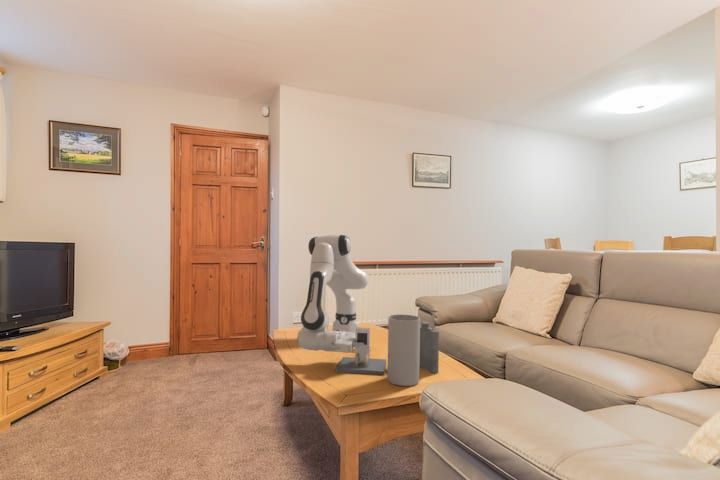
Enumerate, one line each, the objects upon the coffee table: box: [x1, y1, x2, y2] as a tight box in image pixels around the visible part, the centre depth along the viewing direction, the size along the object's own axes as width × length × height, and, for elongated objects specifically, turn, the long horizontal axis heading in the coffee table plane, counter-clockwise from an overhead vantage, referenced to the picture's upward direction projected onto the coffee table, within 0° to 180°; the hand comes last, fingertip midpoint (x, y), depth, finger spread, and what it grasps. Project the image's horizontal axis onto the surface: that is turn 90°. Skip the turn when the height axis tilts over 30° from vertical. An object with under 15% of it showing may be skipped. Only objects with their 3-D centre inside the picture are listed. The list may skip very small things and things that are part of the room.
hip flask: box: [419, 321, 440, 375], centre depth 159 cm, size 16×4×20 cm, turn 36°
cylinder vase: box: [387, 314, 421, 387], centre depth 143 cm, size 12×12×25 cm
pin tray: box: [335, 355, 387, 376], centre depth 158 cm, size 16×20×6 cm
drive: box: [354, 326, 371, 362], centre depth 158 cm, size 4×6×14 cm, turn 82°
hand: (364, 342), depth 158 cm, fingers closed on drive, 4 cm apart
